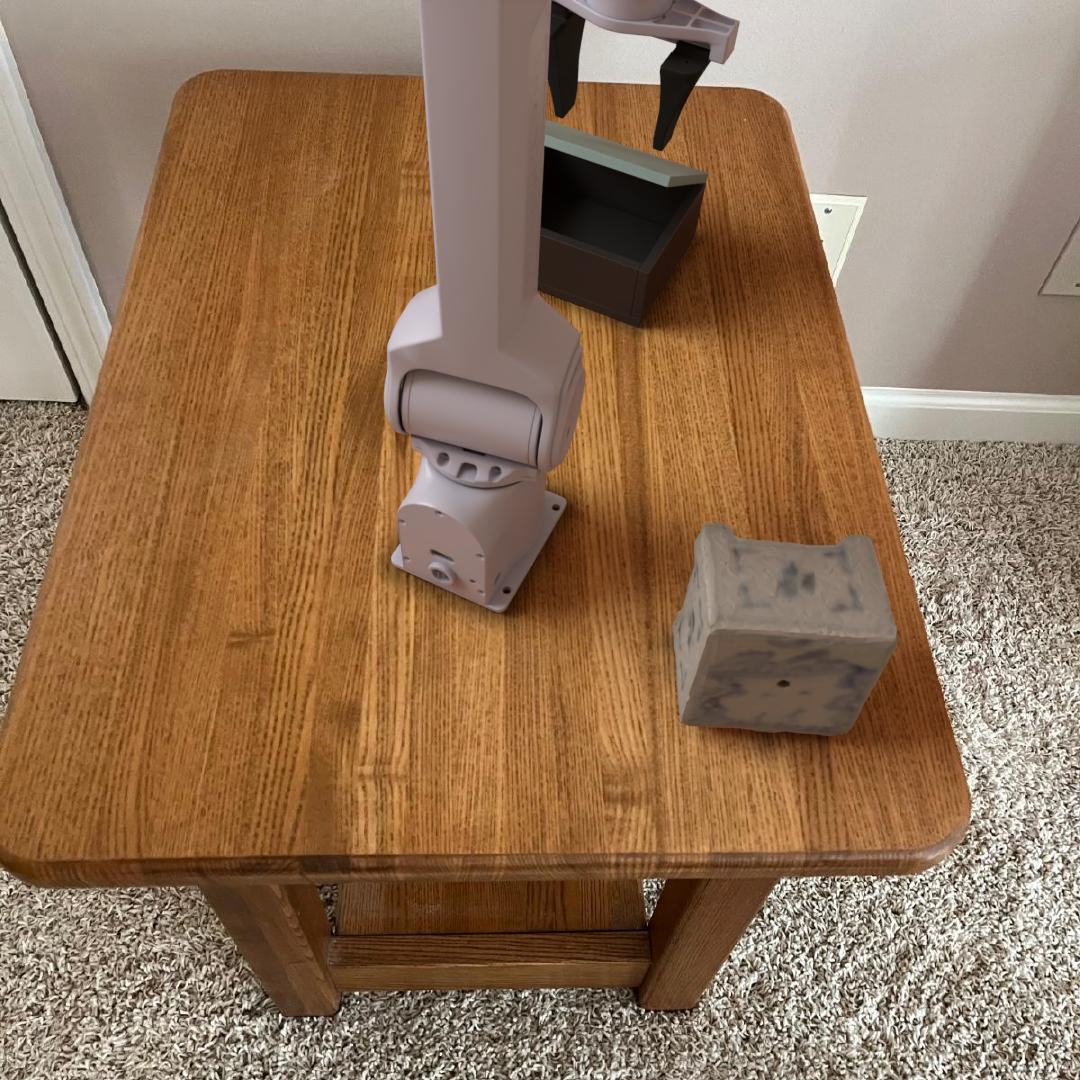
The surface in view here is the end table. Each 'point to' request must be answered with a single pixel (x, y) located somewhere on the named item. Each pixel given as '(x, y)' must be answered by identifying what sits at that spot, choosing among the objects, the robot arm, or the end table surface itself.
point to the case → (611, 235)
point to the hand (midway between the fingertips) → (613, 126)
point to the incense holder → (781, 633)
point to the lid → (620, 157)
